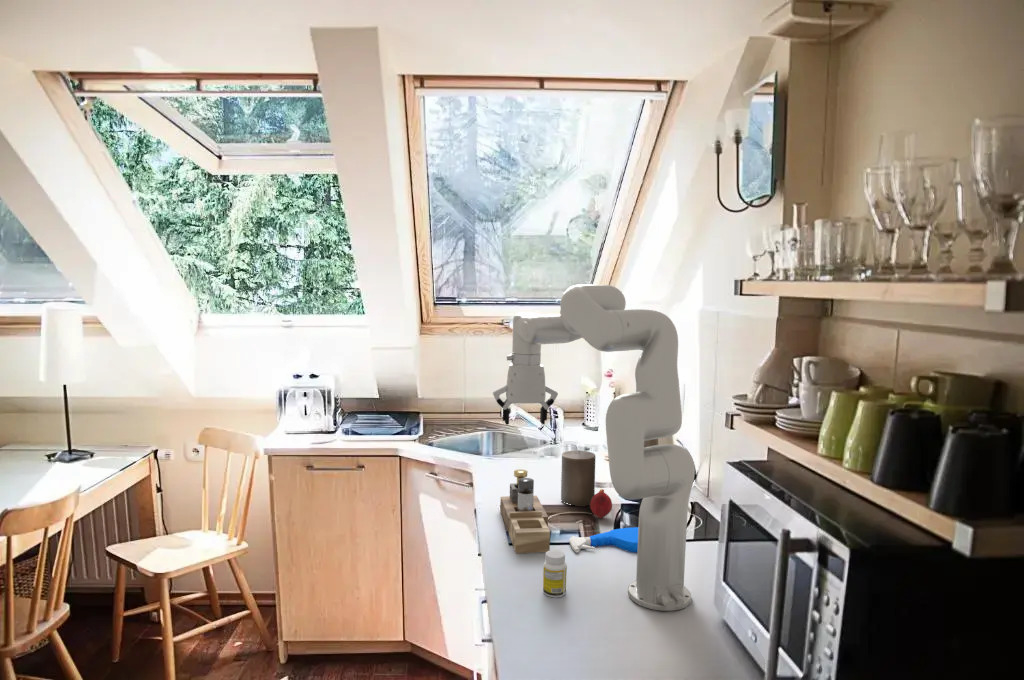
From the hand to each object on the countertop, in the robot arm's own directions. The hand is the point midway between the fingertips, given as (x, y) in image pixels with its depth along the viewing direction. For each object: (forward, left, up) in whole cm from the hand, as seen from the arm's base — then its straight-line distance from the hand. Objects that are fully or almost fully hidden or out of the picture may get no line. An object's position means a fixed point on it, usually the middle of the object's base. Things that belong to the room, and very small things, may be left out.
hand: (524, 423), depth 184 cm
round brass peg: (0, +1, -17) cm, 17 cm away
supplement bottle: (-46, +1, -25) cm, 52 cm away
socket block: (-5, +1, -25) cm, 26 cm away
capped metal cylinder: (-8, +1, -25) cm, 26 cm away
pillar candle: (+9, -17, -25) cm, 32 cm away
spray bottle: (-23, -20, -26) cm, 40 cm away
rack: (-20, +2, -25) cm, 32 cm away
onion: (-5, -20, -25) cm, 33 cm away
